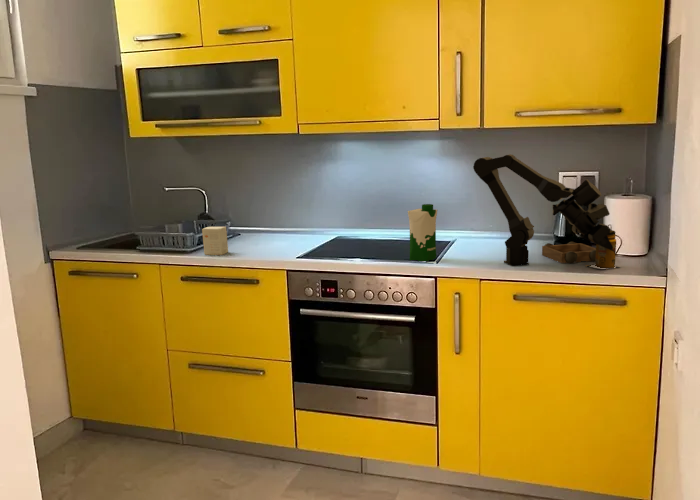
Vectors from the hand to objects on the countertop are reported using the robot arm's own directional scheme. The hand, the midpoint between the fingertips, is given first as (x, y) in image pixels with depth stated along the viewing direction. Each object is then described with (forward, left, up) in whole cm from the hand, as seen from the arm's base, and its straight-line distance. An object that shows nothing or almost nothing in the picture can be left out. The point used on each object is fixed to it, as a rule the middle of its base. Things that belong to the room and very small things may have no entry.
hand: (607, 246), depth 202 cm
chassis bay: (-3, +16, -7) cm, 18 cm away
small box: (-127, +68, -7) cm, 145 cm away
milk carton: (-53, +30, -7) cm, 62 cm away
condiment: (-1, 0, -7) cm, 7 cm away
